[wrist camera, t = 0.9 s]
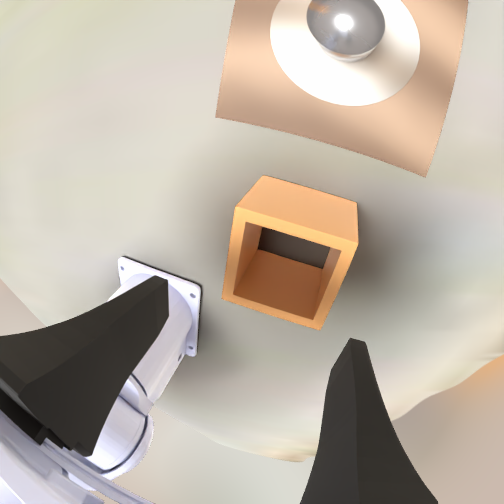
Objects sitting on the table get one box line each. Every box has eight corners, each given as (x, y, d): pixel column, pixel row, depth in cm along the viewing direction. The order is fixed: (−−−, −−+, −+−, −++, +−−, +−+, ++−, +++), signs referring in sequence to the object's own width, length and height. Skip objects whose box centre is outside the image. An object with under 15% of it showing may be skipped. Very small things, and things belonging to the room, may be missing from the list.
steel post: (367, 71, 13) (377, 64, 9) (313, 56, 14) (300, 44, 9) (377, 23, 11) (390, -1, 7) (322, 9, 12) (313, -20, 8)
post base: (421, 172, 15) (426, 178, 14) (222, 115, 17) (214, 117, 16) (463, -9, 8) (470, -14, 7) (255, -60, 10) (249, -68, 9)
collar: (328, 278, 20) (320, 330, 16) (247, 253, 21) (221, 298, 17) (356, 202, 17) (358, 243, 13) (263, 174, 18) (235, 206, 14)
